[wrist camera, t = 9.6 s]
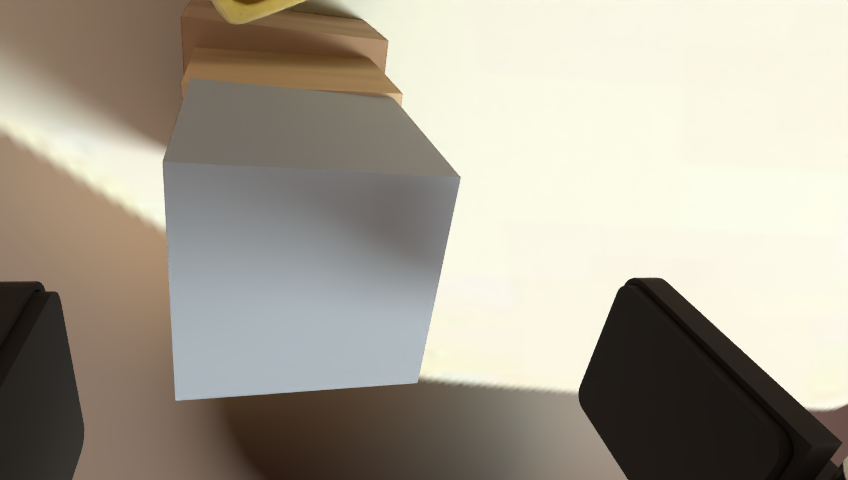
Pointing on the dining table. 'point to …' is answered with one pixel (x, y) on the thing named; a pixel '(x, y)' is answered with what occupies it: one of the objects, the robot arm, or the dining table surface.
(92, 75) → the dining table surface
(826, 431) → the robot arm
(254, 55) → the oak middle block
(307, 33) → the brown wooden block
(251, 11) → the flower pot
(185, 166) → the slate block
